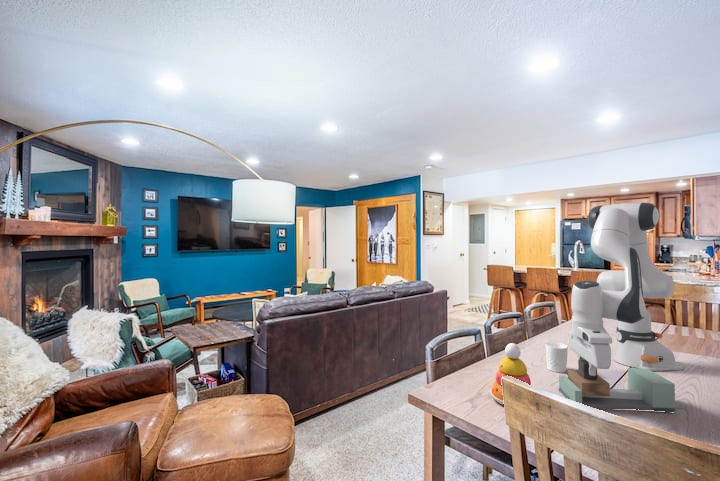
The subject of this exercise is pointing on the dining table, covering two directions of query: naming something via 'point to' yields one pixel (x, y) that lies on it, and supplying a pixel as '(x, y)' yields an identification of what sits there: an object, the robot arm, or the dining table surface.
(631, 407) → the rail base
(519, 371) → the stacking toy
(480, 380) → the dining table surface
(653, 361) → the gauge button
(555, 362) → the white cup
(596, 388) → the carriage
